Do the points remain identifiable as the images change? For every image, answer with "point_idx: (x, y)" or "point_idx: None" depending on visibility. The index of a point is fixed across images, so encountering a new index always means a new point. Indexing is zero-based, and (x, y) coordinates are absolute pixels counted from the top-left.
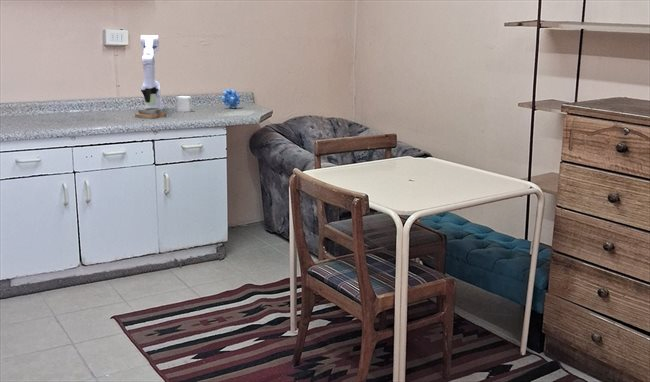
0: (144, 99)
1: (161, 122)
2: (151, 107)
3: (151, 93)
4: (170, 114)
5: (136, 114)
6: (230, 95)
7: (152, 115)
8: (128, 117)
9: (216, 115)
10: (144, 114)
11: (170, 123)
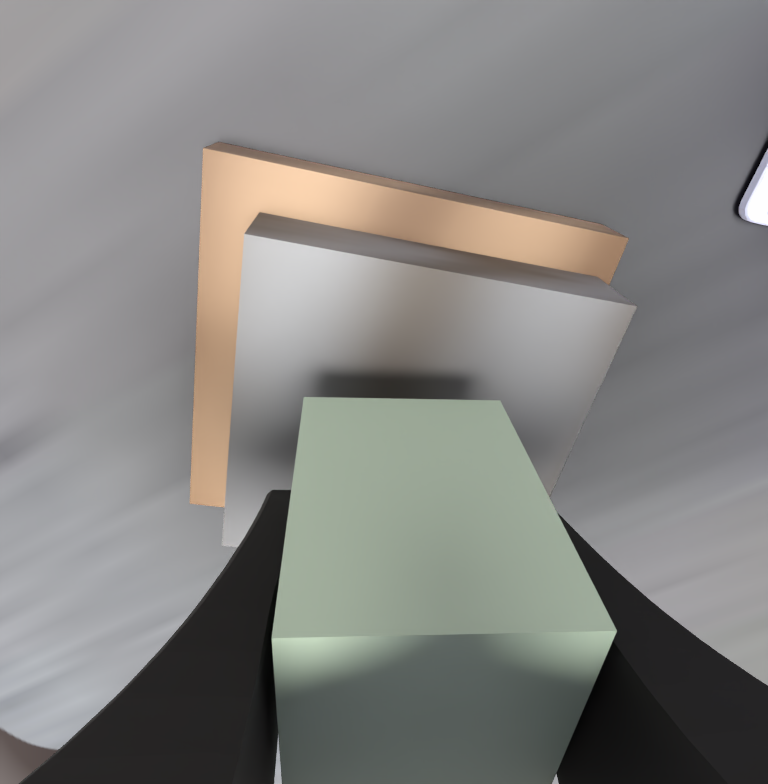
0: (293, 492)
1: (42, 655)
2: (606, 336)
3: (594, 709)
4: (675, 467)
5: (204, 188)
6: None
7: (203, 504)
8: (121, 14)
9: None
10: (228, 358)
11: (50, 726)
